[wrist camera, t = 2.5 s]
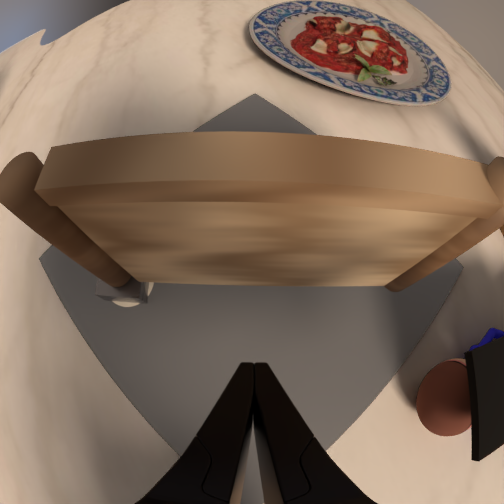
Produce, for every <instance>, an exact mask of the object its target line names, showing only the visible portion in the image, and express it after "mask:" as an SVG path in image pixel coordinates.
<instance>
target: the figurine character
mask: <svg viewBox="0 0 504 504" xmlns="http://www.w3.org/2000/svg"><path fill="white" fill-rule="evenodd" d="M493 338H495V339H496V340H493ZM492 340H493V341H492ZM464 354H465V359H459V358H456V359H450V360H446V361H444V362H442V363H440V364H438V365H436V366H435V367H434V368H433V369H432V370H431V371H430V372H429V373H428V374H427V375H426V376H425V378H424V379H423V381H422V383H421V385H420V387H419V390H418V394H417V401H416V406H417V413H418V416H419V418H420V421H421V422H422V424H423V425H424V426H425V427H426V428H427V429H428V430H429V431H430V432H432V433H434V434H437V435H440V436H454V435H457V434H460V433H462V432H464V431H466V430H468V429H469V428H470V427H471V430H472V460H474V461H480V460H482V459H483V458H485V457H486V456H488V455H489V454H491V453H492V452H493V451H495V450H496V449H498V448H499V447H500V446H502V445H503V444H504V331H501V330H498V329H495V328H490V329H489V331H488V332H487V334H486V335H485V336H484V338H483V339H482V340H481V342H480V343H479V344H478V345H473V346H472V347H471V348H470V350H469V351H468V352H465V353H464Z"/></svg>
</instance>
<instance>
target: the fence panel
mask: <svg viewBox="0 0 504 504" xmlns="http://www.w3.org/2000/svg"><path fill="white" fill-rule="evenodd" d="M0 203H1V204H3V205H4V206H5V207H6V208H7V209H8V210H10V211H11V212H12V213H13V214H14V215H16V216H17V217H18V218H19V219H20V220H22V221H23V222H24V223H25V224H26V225H28V226H29V227H30V228H31V229H33V230H34V231H35V232H36V233H38V234H39V235H40V236H42V237H43V238H44V239H45V240H47V241H48V242H49V243H51V244H52V245H53V246H55V247H56V248H57V249H59V250H60V251H61V252H63V253H64V254H65V255H67V256H68V257H69V258H71V259H72V260H74V261H75V262H76V263H78V264H79V265H81V266H82V267H83V268H85V269H86V270H88V271H89V272H91V273H92V274H93V275H95V276H96V277H98V278H99V279H101V280H102V281H104V282H105V283H107V284H108V285H110V286H112V287H120V286H123V285H124V284H126V283H127V282H128V281H129V279H130V278H131V275H132V276H133V277H134V278H135V279H136V280H138V281H139V282H154V283H178V284H205V285H242V286H385V288H387V289H388V290H389V291H392V292H400V291H402V290H404V289H405V288H407V287H409V286H411V285H412V284H414V283H416V282H417V281H419V280H421V279H422V278H424V277H426V276H428V275H429V274H431V273H432V272H434V271H436V270H437V269H439V268H441V267H442V266H444V265H445V264H447V263H449V262H450V261H452V260H453V259H455V258H456V257H458V256H459V255H461V254H462V253H464V252H466V251H467V250H469V249H470V248H472V247H473V246H474V245H476V244H477V243H479V242H480V241H482V240H483V239H485V238H486V237H487V236H489V235H490V234H492V233H493V232H495V231H496V230H497V229H499V228H500V227H501V226H503V225H504V158H503V157H496V158H495V159H494V160H493V161H492V162H491V163H490V164H489V165H487V164H483V163H480V162H476V161H472V160H468V159H464V158H460V157H455V156H451V155H447V154H442V153H437V152H433V151H428V150H423V149H417V148H412V147H406V146H400V145H394V144H388V143H381V142H374V141H367V140H359V139H351V138H342V137H332V136H322V135H309V134H295V133H276V132H236V131H223V132H183V133H164V134H150V135H137V136H127V137H117V138H109V139H101V140H93V141H86V142H79V143H73V144H67V145H61V146H55V147H51V150H50V152H49V154H48V156H47V159H46V161H45V164H44V165H43V164H42V162H41V161H40V160H39V159H38V157H37V156H36V155H35V154H34V153H32V152H25V153H22V154H20V155H18V156H16V157H15V158H14V159H12V160H11V161H10V162H9V163H8V164H7V166H6V167H5V168H4V169H3V171H2V173H1V174H0Z"/></svg>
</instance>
